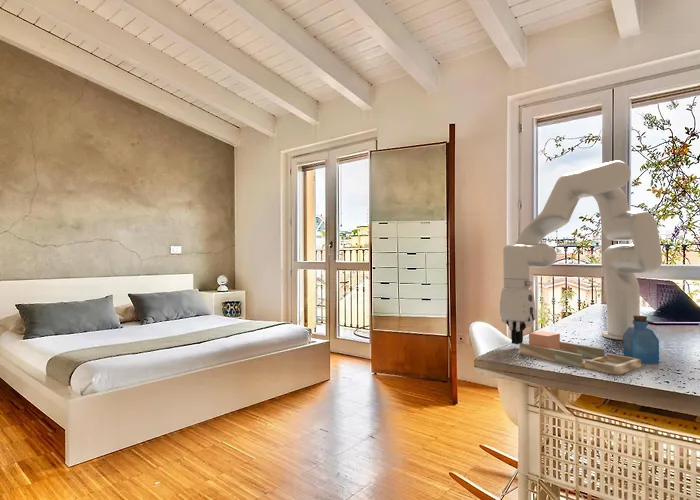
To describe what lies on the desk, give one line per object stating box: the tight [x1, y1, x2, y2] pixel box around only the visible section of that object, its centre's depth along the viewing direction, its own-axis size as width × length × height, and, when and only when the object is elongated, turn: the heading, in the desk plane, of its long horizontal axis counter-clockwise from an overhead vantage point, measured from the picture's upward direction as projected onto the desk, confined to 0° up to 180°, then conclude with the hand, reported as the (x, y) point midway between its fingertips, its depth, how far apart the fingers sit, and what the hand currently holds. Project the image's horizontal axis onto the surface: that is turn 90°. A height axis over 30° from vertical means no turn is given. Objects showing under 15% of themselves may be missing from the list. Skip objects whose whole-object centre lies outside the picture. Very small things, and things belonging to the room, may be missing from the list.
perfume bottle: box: [622, 315, 660, 365], centre depth 117 cm, size 6×6×12 cm
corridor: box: [519, 340, 642, 376], centre depth 119 cm, size 12×27×3 cm, turn 33°
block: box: [528, 330, 561, 350], centre depth 127 cm, size 6×6×6 cm
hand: (517, 343), depth 134 cm, fingers closed
